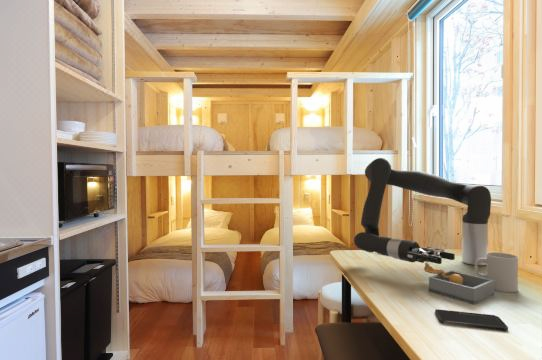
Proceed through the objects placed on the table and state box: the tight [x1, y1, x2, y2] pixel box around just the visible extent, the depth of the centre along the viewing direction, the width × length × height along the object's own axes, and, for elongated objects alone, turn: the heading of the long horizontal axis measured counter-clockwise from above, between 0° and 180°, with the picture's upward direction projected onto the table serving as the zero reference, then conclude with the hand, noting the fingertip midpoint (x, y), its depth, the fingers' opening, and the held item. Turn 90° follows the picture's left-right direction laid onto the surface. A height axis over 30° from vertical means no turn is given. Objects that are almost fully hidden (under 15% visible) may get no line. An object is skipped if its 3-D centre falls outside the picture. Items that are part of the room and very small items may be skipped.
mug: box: [474, 251, 519, 294], centre depth 110 cm, size 12×8×11 cm
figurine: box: [423, 262, 463, 285], centre depth 109 cm, size 8×6×12 cm
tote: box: [428, 269, 495, 305], centre depth 105 cm, size 14×14×4 cm
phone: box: [434, 308, 509, 332], centre depth 85 cm, size 8×1×15 cm
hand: (447, 258), depth 108 cm, fingers open, 8 cm apart
